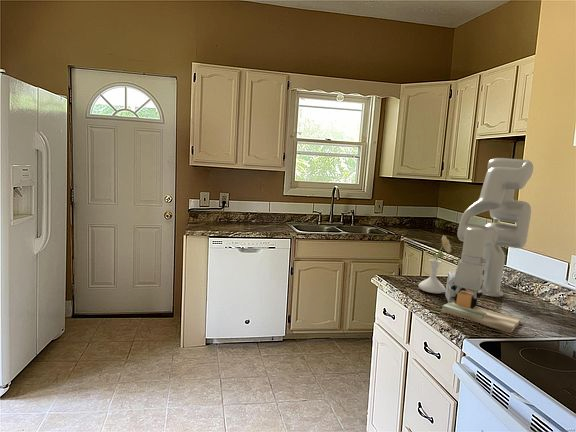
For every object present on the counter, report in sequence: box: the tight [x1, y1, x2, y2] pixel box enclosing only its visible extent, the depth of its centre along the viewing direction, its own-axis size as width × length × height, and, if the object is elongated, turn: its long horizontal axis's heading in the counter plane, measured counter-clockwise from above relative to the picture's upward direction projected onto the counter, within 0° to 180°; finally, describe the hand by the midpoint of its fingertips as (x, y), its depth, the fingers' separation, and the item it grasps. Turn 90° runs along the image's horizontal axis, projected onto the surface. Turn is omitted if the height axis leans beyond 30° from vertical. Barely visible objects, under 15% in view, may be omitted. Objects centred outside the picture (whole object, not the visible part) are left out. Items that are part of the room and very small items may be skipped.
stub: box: [456, 290, 473, 308], centre depth 169 cm, size 6×5×5 cm
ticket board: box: [441, 301, 522, 334], centre depth 162 cm, size 14×24×2 cm, turn 50°
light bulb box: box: [444, 270, 469, 303], centre depth 180 cm, size 11×7×11 cm, turn 168°
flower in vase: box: [418, 234, 452, 294], centre depth 189 cm, size 13×11×25 cm
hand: (465, 305), depth 169 cm, fingers closed on stub, 5 cm apart
